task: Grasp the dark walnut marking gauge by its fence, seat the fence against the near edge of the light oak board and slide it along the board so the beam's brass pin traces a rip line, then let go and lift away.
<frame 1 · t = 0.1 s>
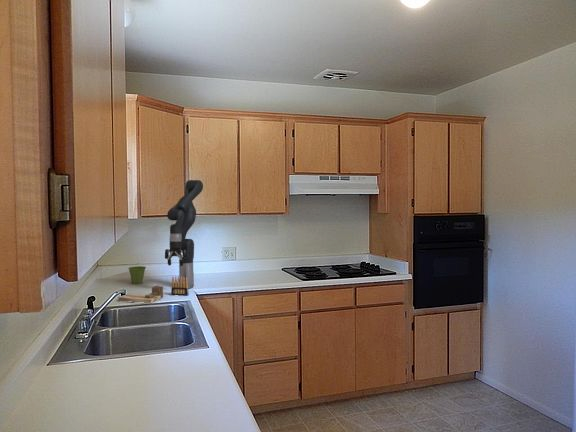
hand: (175, 265, 255), 17 cm above the table, tool pointing down, fingers open, 8 cm apart
board: (139, 300, 235), on the table
ammunition clip: (179, 295, 248), on the table
plant pot: (137, 283, 283), on the table
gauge: (157, 298, 241), on the table
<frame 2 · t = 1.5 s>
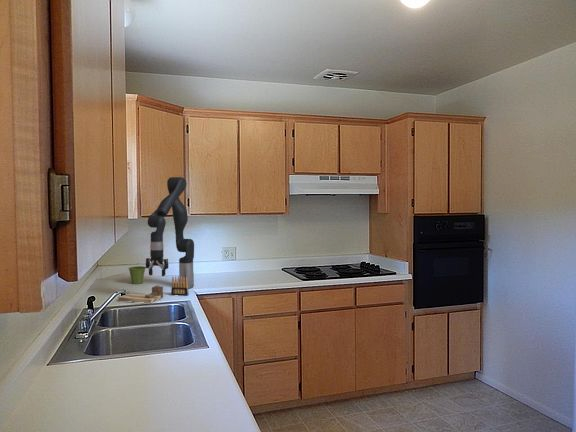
hand: (157, 275, 240), 14 cm above the table, tool pointing down, fingers open, 8 cm apart
nothing on the table moved.
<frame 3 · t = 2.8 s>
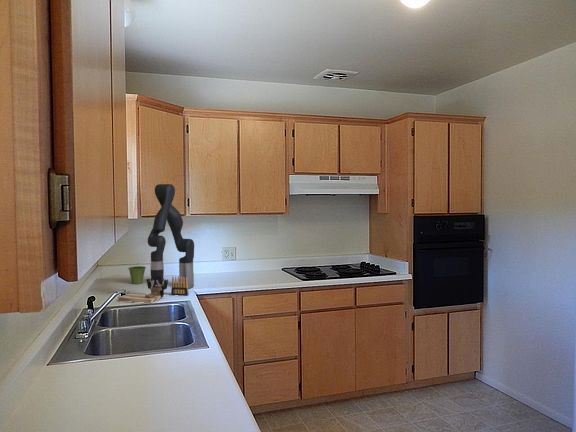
hand: (157, 296, 240), 1 cm above the table, tool pointing down, fingers closed on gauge, 5 cm apart
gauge: (157, 298, 241), on the table, touching gripper
everything else where it was.
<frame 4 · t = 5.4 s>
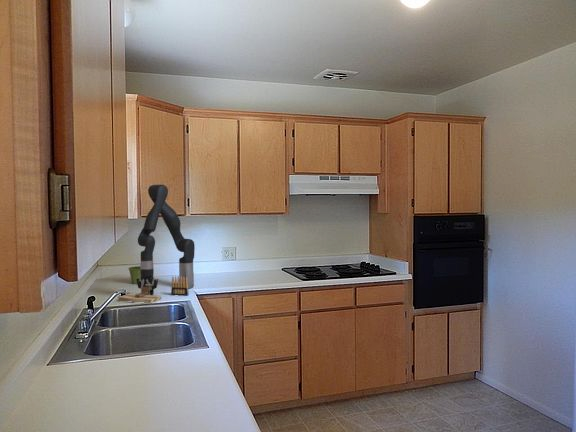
hand: (147, 295, 242), 1 cm above the table, tool pointing down, fingers closed on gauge, 5 cm apart
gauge: (147, 297, 242), on the table, touching gripper
everything else where it was.
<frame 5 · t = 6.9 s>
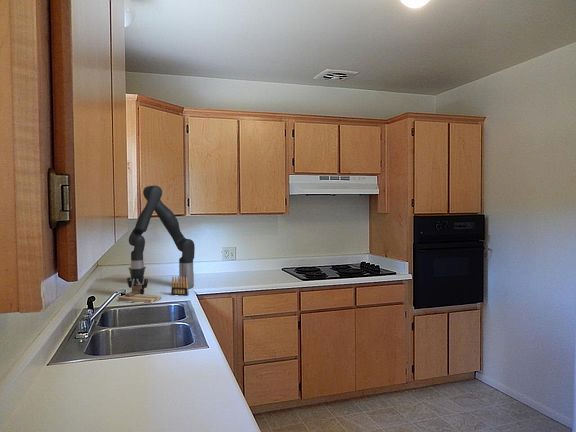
hand: (137, 294, 244), 1 cm above the table, tool pointing down, fingers closed on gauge, 5 cm apart
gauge: (138, 296, 244), on the table, touching gripper
everything else where it was.
when the fingers open (1 cm above the table, at t = 7.9 s): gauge stays where it is, on the table.
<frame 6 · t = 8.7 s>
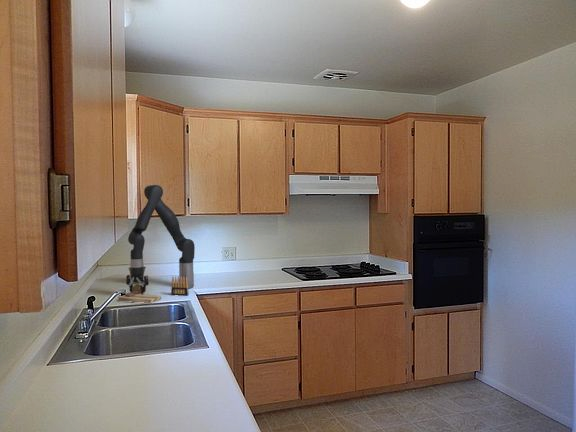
hand: (137, 292, 244), 3 cm above the table, tool pointing down, fingers open, 8 cm apart
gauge: (137, 297, 244), on the table
everything else where it was.
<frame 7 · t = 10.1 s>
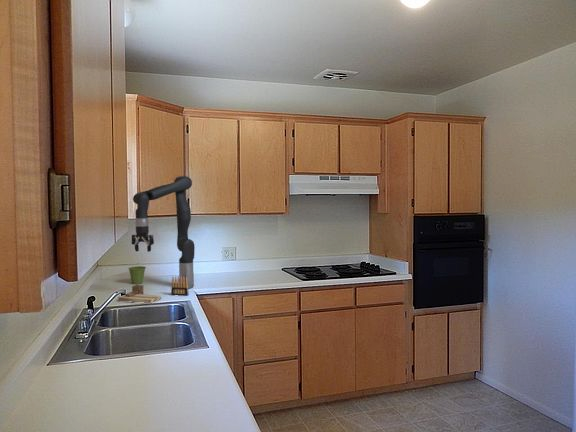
hand: (143, 251, 246), 28 cm above the table, tool pointing down, fingers open, 8 cm apart
nothing on the table moved.
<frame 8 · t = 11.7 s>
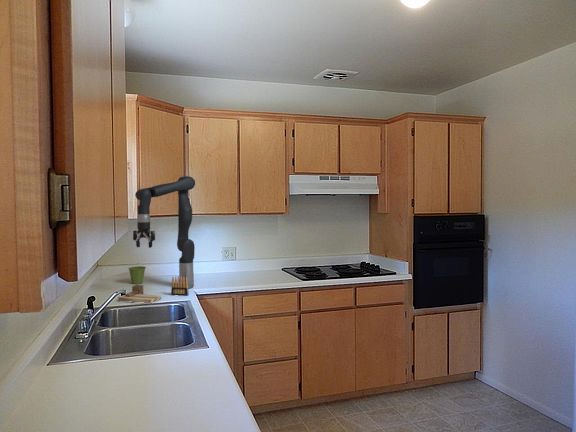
hand: (144, 247, 247), 30 cm above the table, tool pointing down, fingers open, 8 cm apart
nothing on the table moved.
at the end: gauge 0.2 cm from the target spot, on the table; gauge tilted 0°; the gripper is holding nothing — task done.
